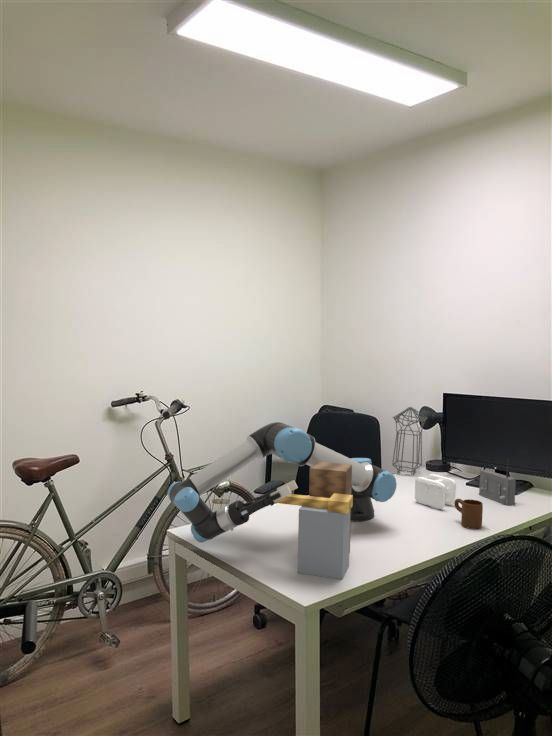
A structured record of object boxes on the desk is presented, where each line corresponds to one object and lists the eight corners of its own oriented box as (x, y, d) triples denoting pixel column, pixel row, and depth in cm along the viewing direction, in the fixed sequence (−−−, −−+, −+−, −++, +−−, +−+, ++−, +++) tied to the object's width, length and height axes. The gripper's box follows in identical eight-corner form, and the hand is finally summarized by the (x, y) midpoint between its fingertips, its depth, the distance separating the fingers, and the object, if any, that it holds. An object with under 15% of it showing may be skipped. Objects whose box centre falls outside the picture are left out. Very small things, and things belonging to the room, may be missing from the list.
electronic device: (514, 504, 252) (516, 459, 250) (503, 506, 249) (505, 460, 247) (484, 493, 268) (486, 451, 266) (473, 495, 265) (475, 452, 263)
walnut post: (307, 558, 191) (309, 468, 188) (315, 547, 200) (317, 461, 198) (343, 563, 187) (346, 471, 185) (349, 551, 196) (352, 464, 194)
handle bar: (271, 505, 182) (271, 494, 181) (279, 497, 189) (279, 487, 189) (347, 513, 174) (347, 502, 174) (352, 506, 182) (352, 495, 181)
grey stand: (297, 572, 179) (298, 509, 178) (306, 560, 189) (307, 500, 187) (342, 579, 175) (343, 514, 173) (348, 566, 184) (350, 504, 183)
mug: (447, 521, 228) (448, 498, 228) (460, 518, 233) (461, 495, 232) (473, 530, 218) (474, 506, 218) (486, 527, 223) (487, 503, 222)
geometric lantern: (395, 468, 313) (399, 404, 311) (425, 472, 306) (429, 407, 304) (387, 474, 299) (391, 407, 297) (418, 479, 292) (422, 410, 290)
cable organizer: (457, 507, 247) (458, 480, 246) (441, 511, 241) (442, 484, 240) (428, 498, 259) (429, 472, 258) (413, 502, 253) (413, 476, 252)
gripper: (249, 516, 199) (306, 489, 192) (227, 535, 181) (289, 506, 174) (239, 496, 200) (295, 469, 193) (216, 513, 182) (277, 483, 175)
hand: (292, 486), depth 183 cm, fingers open, 6 cm apart
